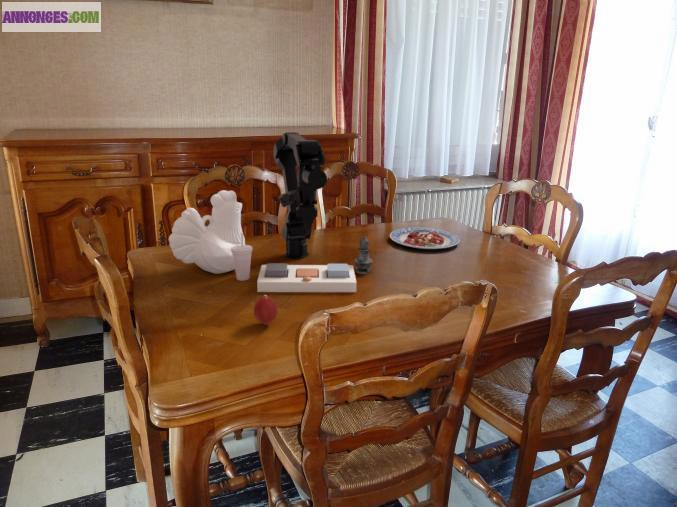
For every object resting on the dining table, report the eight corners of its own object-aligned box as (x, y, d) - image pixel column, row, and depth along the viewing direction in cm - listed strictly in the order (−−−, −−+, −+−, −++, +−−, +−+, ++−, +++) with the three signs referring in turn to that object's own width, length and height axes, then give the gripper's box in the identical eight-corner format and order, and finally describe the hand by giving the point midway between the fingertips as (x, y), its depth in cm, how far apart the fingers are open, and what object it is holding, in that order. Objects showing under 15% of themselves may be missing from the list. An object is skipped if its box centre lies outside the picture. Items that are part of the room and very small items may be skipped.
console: (257, 291, 148) (257, 280, 147) (262, 274, 161) (261, 263, 160) (356, 292, 149) (356, 280, 148) (352, 274, 162) (353, 263, 161)
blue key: (327, 280, 152) (328, 270, 151) (327, 272, 158) (327, 263, 157) (348, 280, 152) (348, 270, 151) (347, 273, 158) (347, 263, 157)
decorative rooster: (235, 256, 176) (232, 183, 168) (256, 270, 164) (254, 192, 156) (160, 270, 162) (153, 191, 154) (178, 287, 150) (170, 202, 142)
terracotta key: (296, 285, 152) (296, 275, 151) (297, 277, 158) (297, 268, 157) (317, 285, 152) (317, 275, 151) (317, 277, 158) (317, 268, 157)
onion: (255, 319, 131) (254, 290, 129) (278, 318, 132) (277, 289, 129) (253, 330, 126) (252, 299, 123) (277, 329, 127) (277, 299, 124)
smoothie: (257, 276, 159) (256, 232, 155) (247, 283, 154) (245, 238, 149) (238, 273, 161) (236, 229, 157) (228, 280, 155) (225, 235, 151)
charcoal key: (265, 280, 151) (265, 270, 150) (267, 272, 157) (267, 263, 156) (286, 280, 151) (286, 270, 150) (287, 272, 157) (287, 263, 156)
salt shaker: (371, 275, 162) (372, 238, 158) (352, 273, 163) (353, 236, 159) (373, 268, 168) (375, 233, 164) (355, 267, 169) (356, 231, 165)
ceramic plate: (391, 230, 210) (391, 223, 209) (456, 234, 206) (457, 227, 205) (387, 251, 185) (388, 243, 184) (461, 256, 182) (462, 247, 181)
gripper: (282, 176, 166) (282, 223, 171) (278, 188, 148) (279, 241, 153) (317, 176, 167) (316, 224, 172) (317, 189, 149) (317, 241, 154)
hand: (307, 232), depth 163 cm, fingers closed
